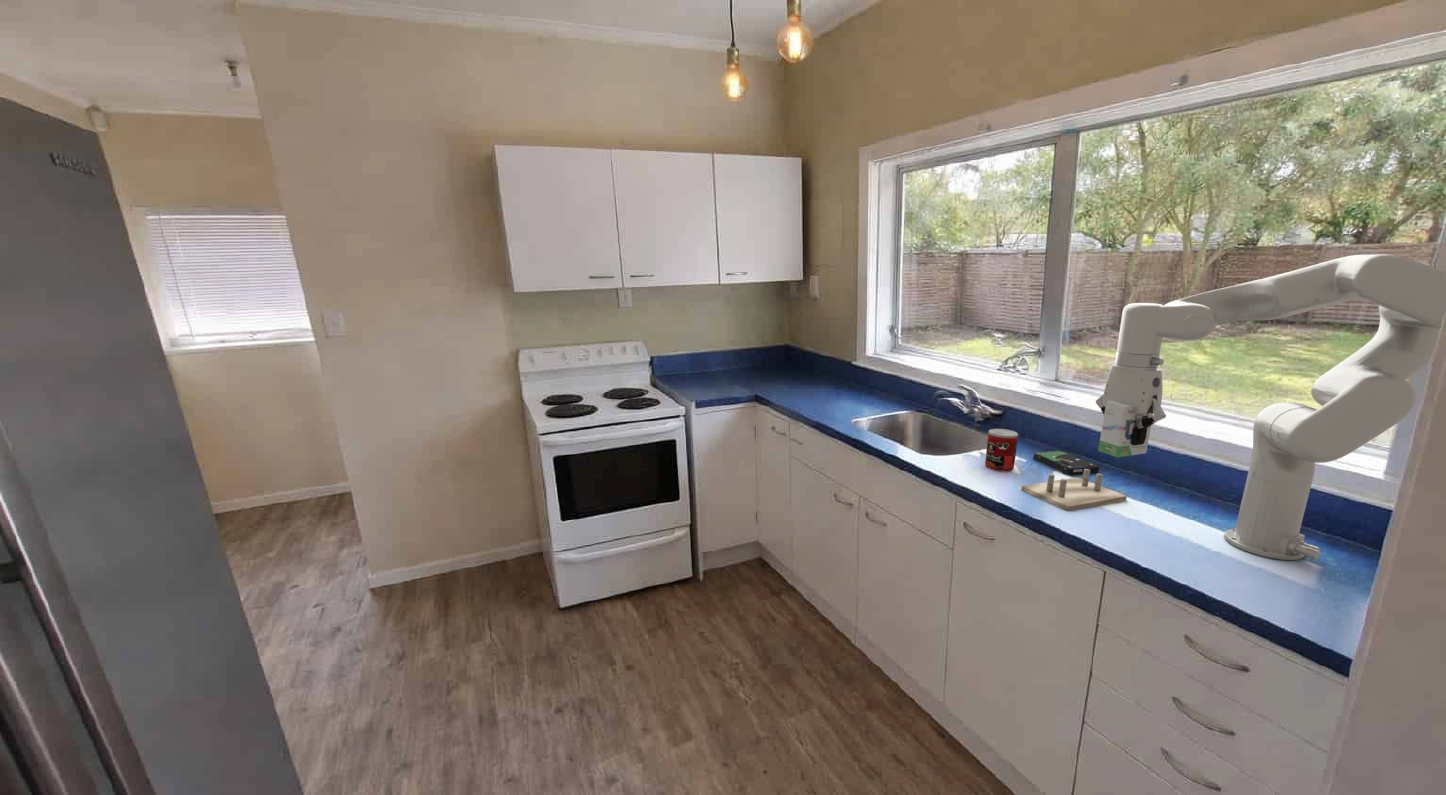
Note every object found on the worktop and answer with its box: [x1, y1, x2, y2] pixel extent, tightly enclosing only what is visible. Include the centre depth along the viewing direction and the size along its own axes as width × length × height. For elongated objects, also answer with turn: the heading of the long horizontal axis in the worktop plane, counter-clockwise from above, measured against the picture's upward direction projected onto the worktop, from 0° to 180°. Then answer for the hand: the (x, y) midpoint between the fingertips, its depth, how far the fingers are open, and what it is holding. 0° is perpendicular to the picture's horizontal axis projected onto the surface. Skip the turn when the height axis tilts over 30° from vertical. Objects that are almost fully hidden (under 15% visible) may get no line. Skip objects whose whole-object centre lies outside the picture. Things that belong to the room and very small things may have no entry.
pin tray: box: [1021, 469, 1128, 512], centre depth 147 cm, size 14×20×6 cm
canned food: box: [984, 428, 1019, 472], centre depth 167 cm, size 8×8×11 cm
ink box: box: [1097, 401, 1154, 458], centre depth 125 cm, size 9×5×12 cm, turn 105°
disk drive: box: [1032, 450, 1100, 476], centre depth 170 cm, size 10×3×15 cm
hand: (1124, 439), depth 126 cm, fingers closed on ink box, 5 cm apart
